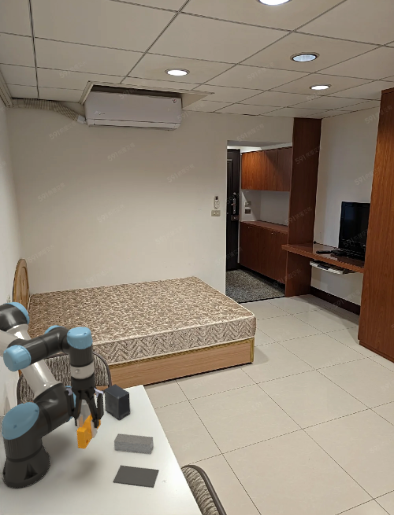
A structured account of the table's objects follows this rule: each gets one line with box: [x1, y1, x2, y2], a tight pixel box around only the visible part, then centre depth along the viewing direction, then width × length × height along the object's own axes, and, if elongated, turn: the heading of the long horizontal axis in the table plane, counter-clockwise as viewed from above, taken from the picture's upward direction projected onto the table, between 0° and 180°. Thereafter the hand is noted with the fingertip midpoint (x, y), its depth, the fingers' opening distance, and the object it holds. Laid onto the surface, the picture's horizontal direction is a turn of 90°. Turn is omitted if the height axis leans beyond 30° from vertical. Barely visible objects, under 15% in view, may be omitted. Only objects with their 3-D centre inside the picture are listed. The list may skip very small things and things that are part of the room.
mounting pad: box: [112, 464, 160, 489], centre depth 121 cm, size 14×7×1 cm, turn 81°
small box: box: [103, 384, 131, 421], centre depth 153 cm, size 11×6×10 cm, turn 49°
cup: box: [80, 394, 96, 424], centre depth 146 cm, size 8×8×12 cm
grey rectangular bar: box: [113, 433, 154, 455], centre depth 133 cm, size 14×4×4 cm, turn 81°
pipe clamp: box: [76, 415, 102, 450], centre depth 120 cm, size 12×4×6 cm, turn 171°
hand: (87, 434), depth 121 cm, fingers closed on pipe clamp, 4 cm apart
